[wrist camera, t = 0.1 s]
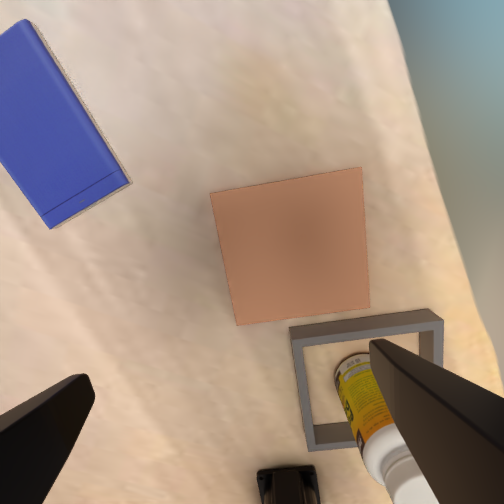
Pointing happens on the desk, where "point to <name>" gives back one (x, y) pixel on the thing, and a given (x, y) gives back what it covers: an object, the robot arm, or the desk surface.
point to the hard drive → (50, 132)
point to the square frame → (357, 329)
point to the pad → (294, 246)
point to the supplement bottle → (379, 434)
